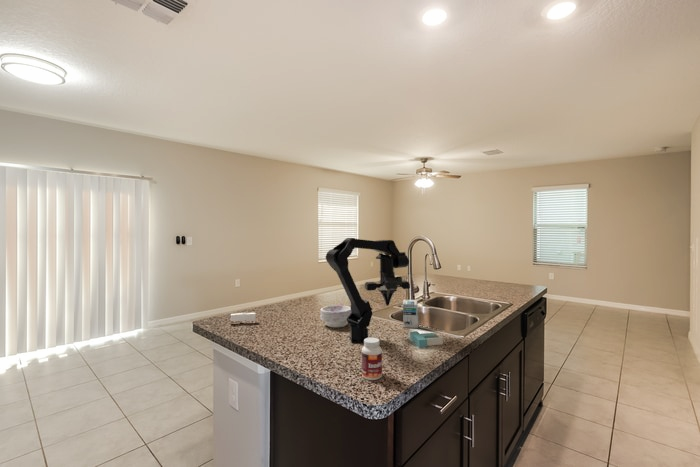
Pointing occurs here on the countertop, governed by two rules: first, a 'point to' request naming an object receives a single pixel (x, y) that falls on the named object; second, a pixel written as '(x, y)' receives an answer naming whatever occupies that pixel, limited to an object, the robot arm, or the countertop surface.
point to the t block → (420, 338)
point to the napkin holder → (243, 317)
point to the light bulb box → (410, 313)
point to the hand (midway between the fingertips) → (387, 305)
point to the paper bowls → (335, 315)
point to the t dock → (434, 340)
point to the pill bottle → (371, 359)
